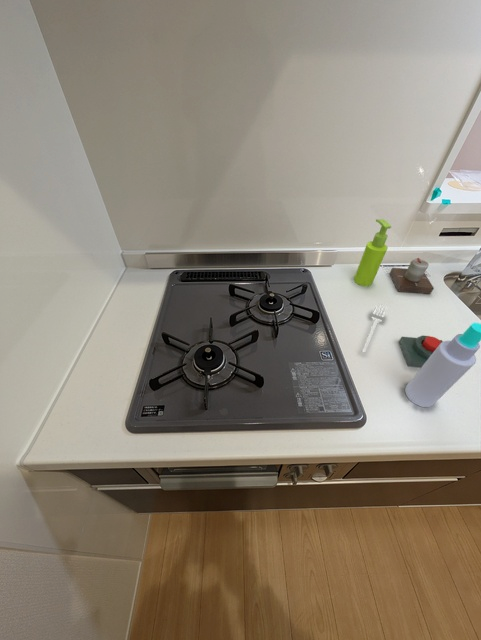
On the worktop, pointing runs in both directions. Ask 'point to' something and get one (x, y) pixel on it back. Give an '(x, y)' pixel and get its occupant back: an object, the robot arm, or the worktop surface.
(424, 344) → the button
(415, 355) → the button housing
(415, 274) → the dial
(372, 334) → the fork
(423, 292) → the brown flat block
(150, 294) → the worktop surface
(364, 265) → the soap dispenser
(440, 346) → the spray bottle
